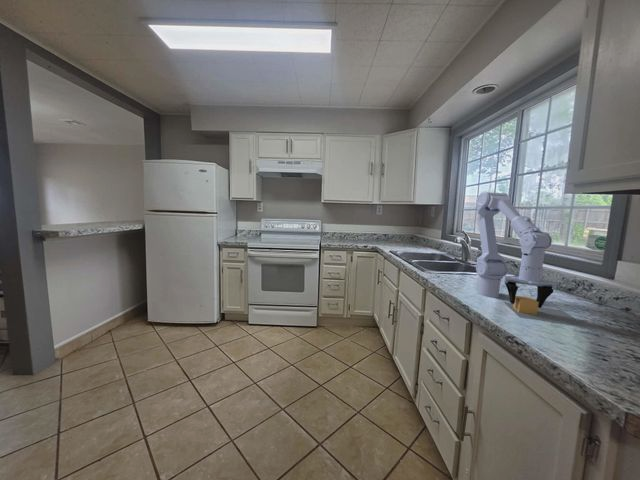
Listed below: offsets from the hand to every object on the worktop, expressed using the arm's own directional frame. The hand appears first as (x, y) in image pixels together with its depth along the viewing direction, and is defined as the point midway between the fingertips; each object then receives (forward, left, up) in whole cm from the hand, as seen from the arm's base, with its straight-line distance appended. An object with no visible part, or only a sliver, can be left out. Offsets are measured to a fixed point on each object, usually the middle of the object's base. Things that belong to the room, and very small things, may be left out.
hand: (525, 304), depth 85 cm
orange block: (0, 0, -2) cm, 2 cm away
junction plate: (0, +5, -3) cm, 6 cm away
